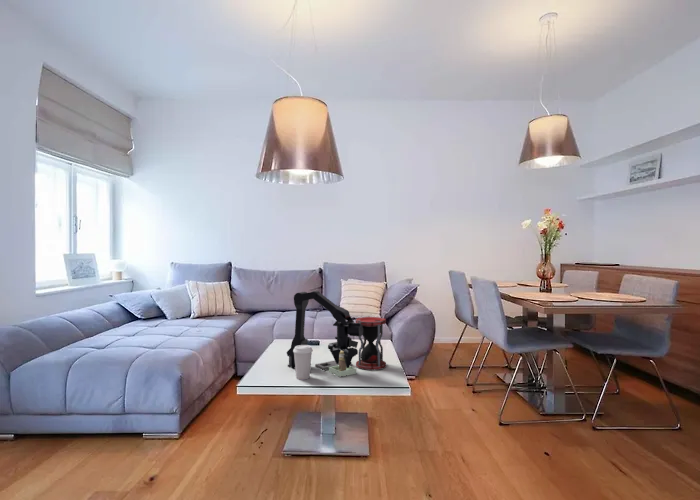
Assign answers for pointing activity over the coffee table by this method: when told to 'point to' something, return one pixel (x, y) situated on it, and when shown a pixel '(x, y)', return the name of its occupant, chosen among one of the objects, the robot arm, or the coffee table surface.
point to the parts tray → (336, 371)
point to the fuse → (341, 354)
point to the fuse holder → (327, 365)
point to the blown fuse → (342, 364)
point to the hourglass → (371, 344)
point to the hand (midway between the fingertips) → (342, 365)
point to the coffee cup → (302, 361)
